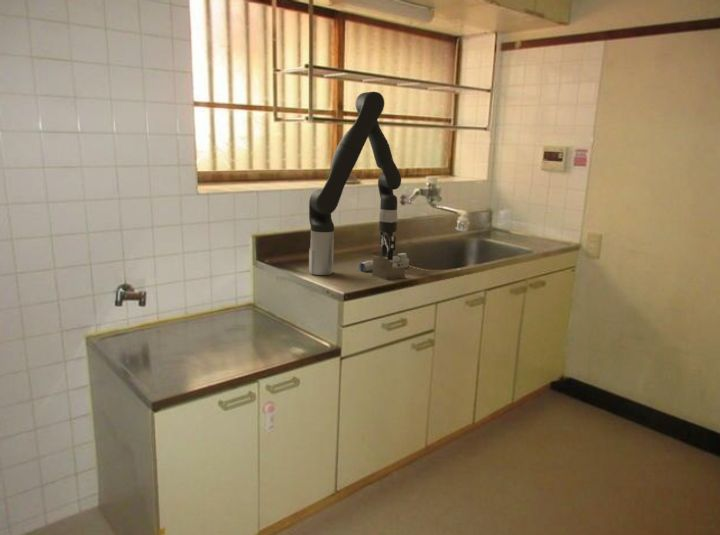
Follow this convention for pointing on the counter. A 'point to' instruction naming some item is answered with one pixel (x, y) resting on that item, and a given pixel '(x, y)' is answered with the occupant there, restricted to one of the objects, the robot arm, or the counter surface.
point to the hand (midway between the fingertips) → (386, 257)
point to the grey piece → (399, 259)
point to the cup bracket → (386, 269)
